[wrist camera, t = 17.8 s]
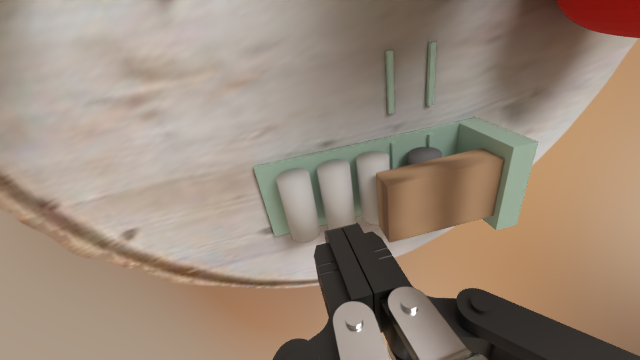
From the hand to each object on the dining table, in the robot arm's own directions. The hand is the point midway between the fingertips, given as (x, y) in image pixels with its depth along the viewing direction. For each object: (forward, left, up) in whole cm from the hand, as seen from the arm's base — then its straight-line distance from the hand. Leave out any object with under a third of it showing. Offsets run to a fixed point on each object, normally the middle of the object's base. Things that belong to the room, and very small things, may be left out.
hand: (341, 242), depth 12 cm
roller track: (+8, -9, -19) cm, 23 cm away
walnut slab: (+13, -9, -15) cm, 21 cm away
